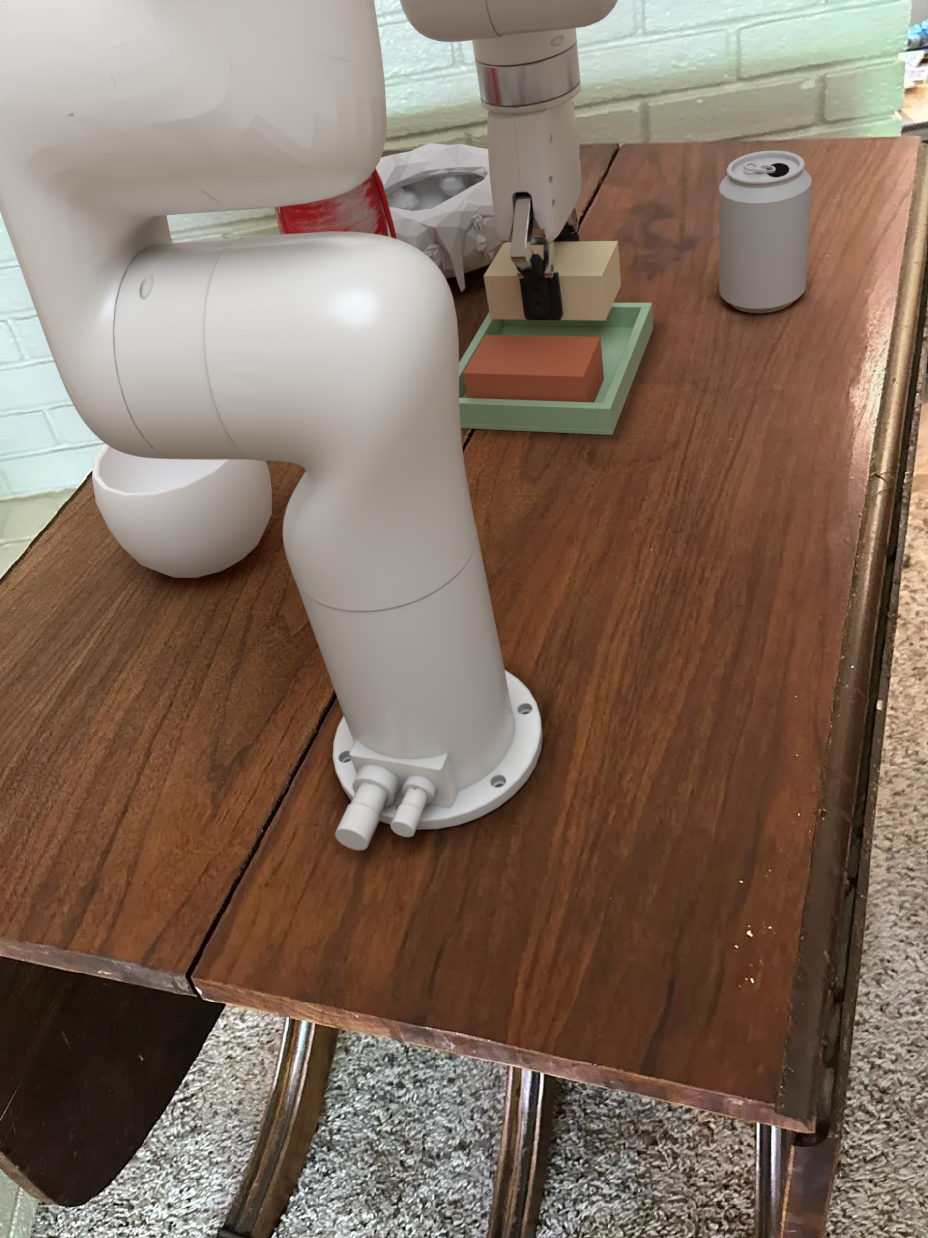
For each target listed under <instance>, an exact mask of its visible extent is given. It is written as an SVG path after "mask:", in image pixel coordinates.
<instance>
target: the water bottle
mask: <svg viewBox="0 0 928 1238" xmlns="http://www.w3.org/2000/svg"><path fill="white" fill-rule="evenodd" d="M273 209H274V213H275V218H276V223H277V226H278V232H279V235H281V234H297V233H314V232H328V231H340V232H361V233H370V234H378V235H383V236H387V237H389V234H388V227H389V231H390V235H391V238H394V239H397V238H396V232H395V228H394V224H393V220H392V216H391V213H390V209H389V205H388V201H387V198H386V194H385V190H384V186H383V183H382V181H381V179H380V176H379V174H378V172H377V170H376V168H375V169H374V171H373V172H372V174H371V175H370V176H369V178H368V179H367V180H365V181H364V182H362V183H361V184H360V185H358V186H357V187H356V188H354V189H352V190H351V191H349V192H346V193H343V194H341V195H338V196H335V197H333V198H329V199H324V200H320V201H315V202H310V203H305V204H298V205H290V206H282V207H273ZM387 224H388V226H387Z"/></svg>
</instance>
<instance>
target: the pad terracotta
mask: <svg viewBox="0 0 928 1238" xmlns="http://www.w3.org/2000/svg"><path fill="white" fill-rule="evenodd" d="M463 376H464V381H465V386H466V392H467V397H468V398H481V399H508V400H536V401H563V402H591V403H594V402H595V400H596V397H597V395H598V392H599V390H600V388H601V385H602V383H603V380H604V372H603V361H602V349H601V338H600V337H578V336H514V335H485V336H484V338H483V339H482V341H481V343H480V344H479V346H478V348H477V350H476V351H475V353H474V355H473V357H472V358H471V360H470V362H469V364H468V365H467V367H466V369H465V370H464V372H463Z"/></svg>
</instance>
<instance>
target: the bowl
mask: <svg viewBox="0 0 928 1238" xmlns="http://www.w3.org/2000/svg"><path fill="white" fill-rule="evenodd" d="M376 170H377V172H378V174H379V176H380V179H381V181H382V183H383V186H384V190H385V194H386V198H387V201H388V205H389V209H390V213H391V216H392V220H393V224H394V228H395V232H396V238H397V239H398V240H401V241H403V242H405V243H408V244H410V245H412V246H414V247H415V248H417V249H419V250H420V251H422V252H423V253H424V254H426V255H427V256H428V257H429V258H430V259H431V260H432V261H433V262H434V263H435V264H436V265H437V266H438V268H439V269H440V270H441V272H442V273H443V275H444V277H445V278H446V279H449V278H456V279H455V280H456V282H457V285H458V287H459V291H460V292H461V293H462V292H463V291H464V290H465V289H466V282H465V274H468V273H469V272H472V271H474V270H478V269H480V268H484V267H486V266H488V265H489V266H490V265H491V263H492V261H493V260H494V258H495V257H496V255H497V253H498V252H499V250H500V248H501V247H502V245H503V244H504V243H501V242H500V241H499V240H498V239H497V236H496V230H495V222H494V213H493V203H492V193H491V183H490V173H489V160H488V148H486V147H485V148H484V147H477V146H472V145H468V144H464V143H456V144H442V143H435V142H429V143H426V144H424V145H422V146H419V147H417V148H415V149H412V150H411V151H405V152H400V153H393V154H389V155H386V156H381V159H380V161H379V163H378V165H377V166H376ZM387 226H388V224H387ZM533 231H534V230H533ZM533 231H532V235H533V234H534V232H533ZM388 234H389V237H391V235H390V231H389V227H388ZM508 242H512V237H511V239H510V240H509V241H508Z"/></svg>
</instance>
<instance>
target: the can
mask: <svg viewBox="0 0 928 1238" xmlns="http://www.w3.org/2000/svg"><path fill="white" fill-rule="evenodd" d="M805 165H806V162H805V161H804V158H803V157H801V156H799V155H798V154H796V153H793V152H790V151H785V150H761V151H755V152H751V153H748V154H744V155H741V156H740V157H736V159H733V161H731V162H730V163H729V164H728V165H727V167H726V169H725V170H726V176H725V177H724V178H723V179H722V180H721V181H720V183H719V186H718V288H719V289H718V290H719V295H720V297H721V298H722V299H723V300H724V301H725V302H726V303H727V304H729V305H730V306H732V307H733V308H734V309H735V310H737V311H740V312H745V313H749V314H766V313H774V312H777V311H781V310H783V309H785V308H787V307H789V306H791V305H792V304H793V303H794V302H795V301H796V300H798V299H799V298H800V297H801V296H802V295H803V294H804V293H805V291H806V289H807V288H806V287H807V281H808V280H807V279H808V263H809V262H808V260H809V245H810V243H809V242H810V225H811V223H810V222H811V205H812V189H813V179H812V177H811V175H810V173H808V171H807V170H806V169H805Z"/></svg>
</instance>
